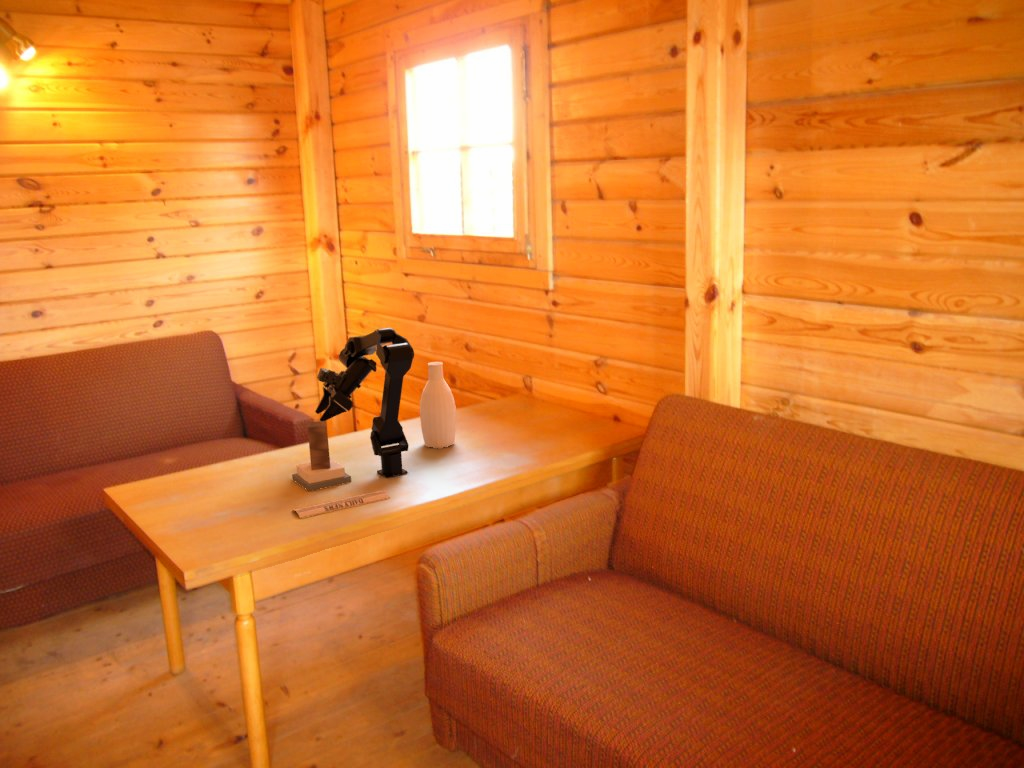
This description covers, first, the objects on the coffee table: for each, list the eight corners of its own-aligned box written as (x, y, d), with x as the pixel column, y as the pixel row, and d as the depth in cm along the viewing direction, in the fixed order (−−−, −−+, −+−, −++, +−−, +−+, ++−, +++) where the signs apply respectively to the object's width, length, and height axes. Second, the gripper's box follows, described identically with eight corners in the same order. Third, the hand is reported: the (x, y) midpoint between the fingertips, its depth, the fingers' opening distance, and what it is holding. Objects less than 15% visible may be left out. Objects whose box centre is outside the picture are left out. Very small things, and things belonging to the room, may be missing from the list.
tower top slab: (345, 476, 240) (344, 467, 240) (309, 483, 235) (308, 474, 235) (331, 467, 248) (331, 458, 248) (297, 474, 243) (296, 465, 243)
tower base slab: (351, 484, 241) (350, 476, 240) (309, 494, 234) (308, 485, 234) (333, 473, 250) (332, 465, 250) (292, 482, 244) (291, 474, 243)
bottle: (464, 445, 270) (460, 363, 265) (432, 452, 264) (428, 368, 259) (446, 437, 279) (442, 357, 274) (414, 443, 273) (410, 363, 268)
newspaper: (380, 494, 232) (380, 488, 232) (391, 502, 226) (391, 495, 226) (292, 514, 220) (292, 507, 220) (301, 523, 214) (301, 516, 214)
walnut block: (329, 462, 244) (326, 420, 241) (330, 468, 239) (326, 425, 236) (311, 464, 243) (307, 422, 240) (311, 470, 238) (307, 427, 235)
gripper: (328, 352, 261) (292, 392, 260) (338, 364, 244) (300, 407, 243) (356, 375, 265) (322, 415, 264) (368, 389, 248) (331, 431, 247)
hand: (318, 416), depth 254 cm, fingers open, 9 cm apart
